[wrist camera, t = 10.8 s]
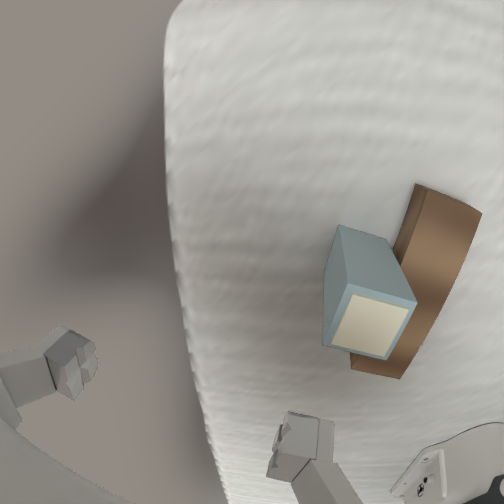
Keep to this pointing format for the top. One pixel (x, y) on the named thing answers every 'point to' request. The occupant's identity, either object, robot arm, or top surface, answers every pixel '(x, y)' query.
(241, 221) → the top surface
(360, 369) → the rail
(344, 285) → the block
